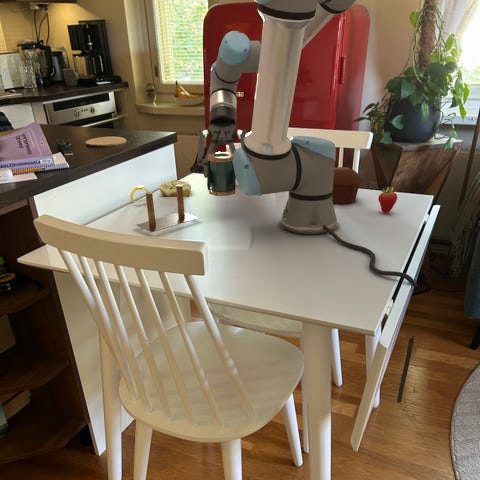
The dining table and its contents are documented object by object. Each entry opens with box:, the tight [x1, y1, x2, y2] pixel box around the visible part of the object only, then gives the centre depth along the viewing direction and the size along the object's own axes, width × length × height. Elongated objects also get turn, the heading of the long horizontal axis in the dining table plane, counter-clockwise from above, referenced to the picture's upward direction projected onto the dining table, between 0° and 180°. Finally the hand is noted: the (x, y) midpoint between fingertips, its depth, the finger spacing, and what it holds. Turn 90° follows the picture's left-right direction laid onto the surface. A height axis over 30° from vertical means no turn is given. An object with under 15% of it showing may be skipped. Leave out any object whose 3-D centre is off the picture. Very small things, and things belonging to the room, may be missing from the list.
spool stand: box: [135, 185, 199, 233], centre depth 132 cm, size 16×8×10 cm, turn 133°
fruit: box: [377, 186, 398, 214], centre depth 139 cm, size 5×5×8 cm
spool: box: [208, 151, 237, 197], centre depth 130 cm, size 7×7×10 cm
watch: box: [130, 184, 149, 203], centre depth 150 cm, size 6×3×6 cm, turn 119°
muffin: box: [332, 166, 363, 206], centre depth 150 cm, size 12×11×10 cm
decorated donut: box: [159, 180, 192, 198], centre depth 161 cm, size 10×11×4 cm
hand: (221, 187), depth 128 cm, fingers closed on spool, 6 cm apart
